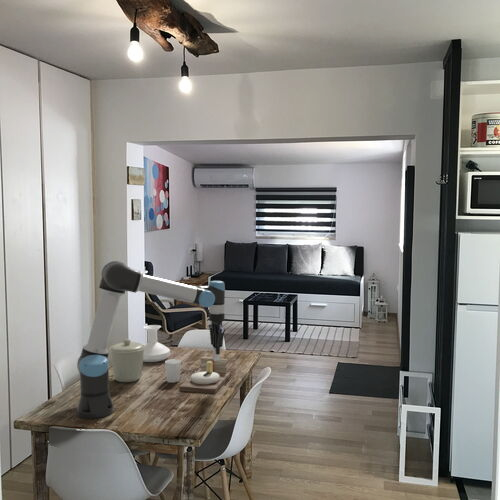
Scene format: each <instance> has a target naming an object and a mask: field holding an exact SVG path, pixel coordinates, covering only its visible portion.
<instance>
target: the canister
mask: <svg viewBox="0 0 500 500" xmlns="http://www.w3.org/2000/svg"><path fill="white" fill-rule="evenodd" d="M144 345H145V344H142V343H141V342H134V341H131V339H130V338H125V339H123V342H120V343H116V344H113V345H112V346H110V347H109V348H108V351H109V354H110V358H111V366H112V371H113V377H114V380H115V381H117V382H118V383H119V382H120V383H133V382H136V381H137V380H139V379H140V378H141V377H142V374H143V365H144V364H143V363H144V362H143V356H144V349H145V346H144Z"/></svg>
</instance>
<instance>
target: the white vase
mask: <svg viewBox="0 0 500 500" xmlns="http://www.w3.org/2000/svg"><path fill="white" fill-rule="evenodd" d="M142 328H143V329H145V331H147V343H144V344H143V345H144V346H145V349H144V356H143V363H157V362H161V361H165V360H166V359H167V358H168V357H169V356H170V355H171V349H170V348H169V347H167V346H166V345H164V344H163V343H160V342H158V330H160V328H162V326H161V325H160V324H159V325H158V324H149V325H144V326H143V327H142Z"/></svg>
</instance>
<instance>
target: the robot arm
mask: <svg viewBox="0 0 500 500" xmlns="http://www.w3.org/2000/svg"><path fill="white" fill-rule="evenodd" d="M225 286H226V285H225V282H224V281H222V280H210V281H209V283H208V285H188V284H185V283H180V282H176V281H172V280H168V279H164V278H160V277H157V276H156V277H155V276H152V275H148V274H144V273H142V271H141V270H137V269H134V268H131V267H130V266H128V265H126V264H125V263H124V262H122V261H117V260H113V261H112V260H111V261H110V262H108V263H106V264H105V265H104V266H103V268H102V270H101V280H100V283H99V287H98V289H99V291H100V296H99V299H98V303H97V307H96V311H95V315H94V319H93V322H92V326H91V330H90V333H89V338H88V340H87V344H85V345H83V346H82V350H81V353H80V356H79V357H78V359H77V362H76V363H77V364H76V365H77V371H78V373H79V379H80V380H79V381H80V382H79V385H80V397H79V401H78V404H77V407H76V415H78V416H77V417H78V418H81V419H84V420H85V419H86V420H87V419H88V420H89V419H90V420H93V419H100V418H104V417H107V416H109V415H111V414H113V413H114V410H115V409H114V407H115V406H114V403H113V400H112V398H111V395H110V384H109V383H110V381H109V380H110V379H109V377H110V376H109V375H110V374H109V367H110V364H109V359H108V357H109V354H110V351H109V348H108V345H109V340H110V337H111V333H112V329H113V326H114V322H115V317H116V315H117V310H118V308H119V302H120V300H121V297H122V296H123V295H125V293H126V292H129V293H137V292H141V293H146V294H149V295H154V296H159V297H164V298H168V299H172V300H176V301H180V302H185V303H190V304H194V305H198V306H201V307H204V308H208V312H209V313H208V320H209V322H210V324H208V328H209V337H210V345H212V347H213V351H212V352H213V353H212V354H213V357H212V358H213V360H214V361H218V360H220V359H221V358H220V355H221V354H220V353H221V351H220V348H222V347H223V344H224V337H225V336H224V335H225V333H226V329H225V328H223V322H224V321H225V318H226V317H225V307H226V306H225V302H226V301H225V295H226V287H225Z"/></svg>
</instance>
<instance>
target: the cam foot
mask: <svg viewBox="0 0 500 500" xmlns="http://www.w3.org/2000/svg"><path fill="white" fill-rule="evenodd" d="M190 377H191V381H192V382H193V383H196V384H212V383H216V382H218V381H219V374H218V373H215V372H213V363H212V362H211V361H208V362H207V372H197V373H195V372H194V373H192V374H191V376H190Z"/></svg>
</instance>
